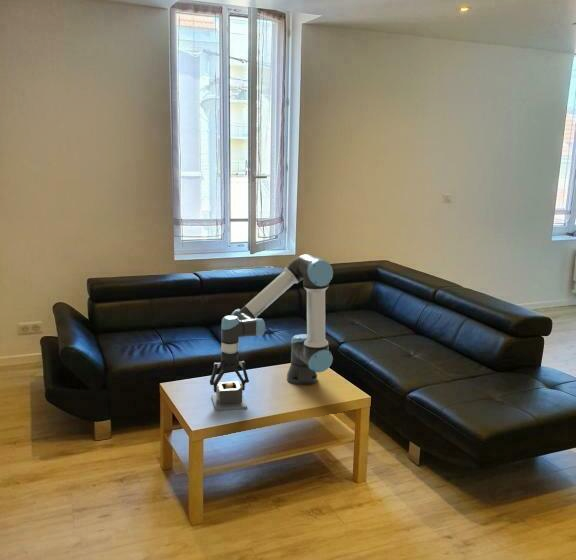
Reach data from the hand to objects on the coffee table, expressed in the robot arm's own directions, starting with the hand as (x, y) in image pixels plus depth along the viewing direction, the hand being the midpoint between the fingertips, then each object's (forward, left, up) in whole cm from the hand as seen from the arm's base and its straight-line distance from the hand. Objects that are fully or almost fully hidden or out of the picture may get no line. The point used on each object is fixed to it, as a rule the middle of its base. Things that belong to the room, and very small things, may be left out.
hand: (229, 397), depth 259 cm
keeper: (0, 0, -3) cm, 3 cm away
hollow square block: (0, 0, 0) cm, 0 cm away
